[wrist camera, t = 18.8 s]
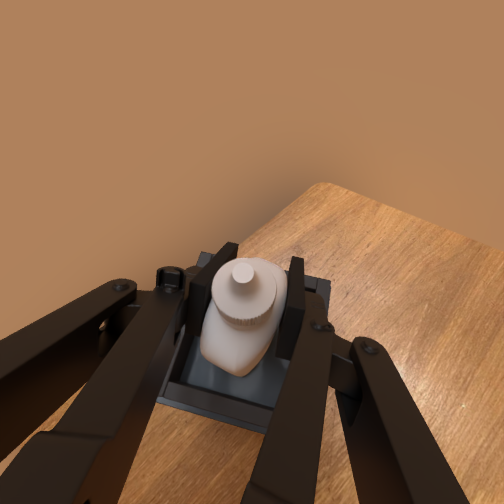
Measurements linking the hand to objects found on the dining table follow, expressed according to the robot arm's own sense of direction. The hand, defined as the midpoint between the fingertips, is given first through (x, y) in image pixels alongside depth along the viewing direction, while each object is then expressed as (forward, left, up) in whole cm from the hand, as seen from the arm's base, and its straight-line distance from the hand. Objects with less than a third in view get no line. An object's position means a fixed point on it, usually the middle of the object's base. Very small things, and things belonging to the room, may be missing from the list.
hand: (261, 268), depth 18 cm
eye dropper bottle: (0, -4, -4) cm, 5 cm away
